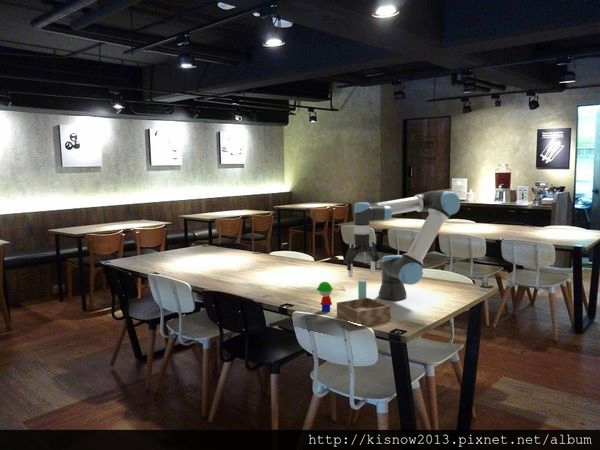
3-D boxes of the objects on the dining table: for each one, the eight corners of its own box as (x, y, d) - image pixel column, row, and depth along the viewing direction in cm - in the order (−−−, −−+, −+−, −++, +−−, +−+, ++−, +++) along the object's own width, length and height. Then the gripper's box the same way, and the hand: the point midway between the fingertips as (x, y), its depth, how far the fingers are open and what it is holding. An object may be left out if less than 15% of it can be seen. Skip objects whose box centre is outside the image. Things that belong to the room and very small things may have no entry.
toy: (314, 312, 245) (313, 282, 243) (323, 308, 251) (322, 279, 250) (327, 314, 240) (326, 284, 239) (336, 310, 246) (335, 281, 245)
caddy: (367, 311, 244) (367, 297, 244) (390, 320, 228) (390, 306, 228) (336, 316, 236) (336, 302, 235) (358, 327, 220) (358, 311, 219)
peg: (363, 306, 253) (363, 280, 251) (367, 308, 249) (367, 281, 248) (356, 308, 251) (356, 280, 249) (361, 309, 247) (361, 282, 246)
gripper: (377, 231, 255) (377, 271, 257) (336, 234, 243) (336, 276, 246) (386, 232, 248) (386, 274, 251) (344, 236, 237) (345, 279, 239)
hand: (361, 275), depth 248 cm, fingers open, 13 cm apart
